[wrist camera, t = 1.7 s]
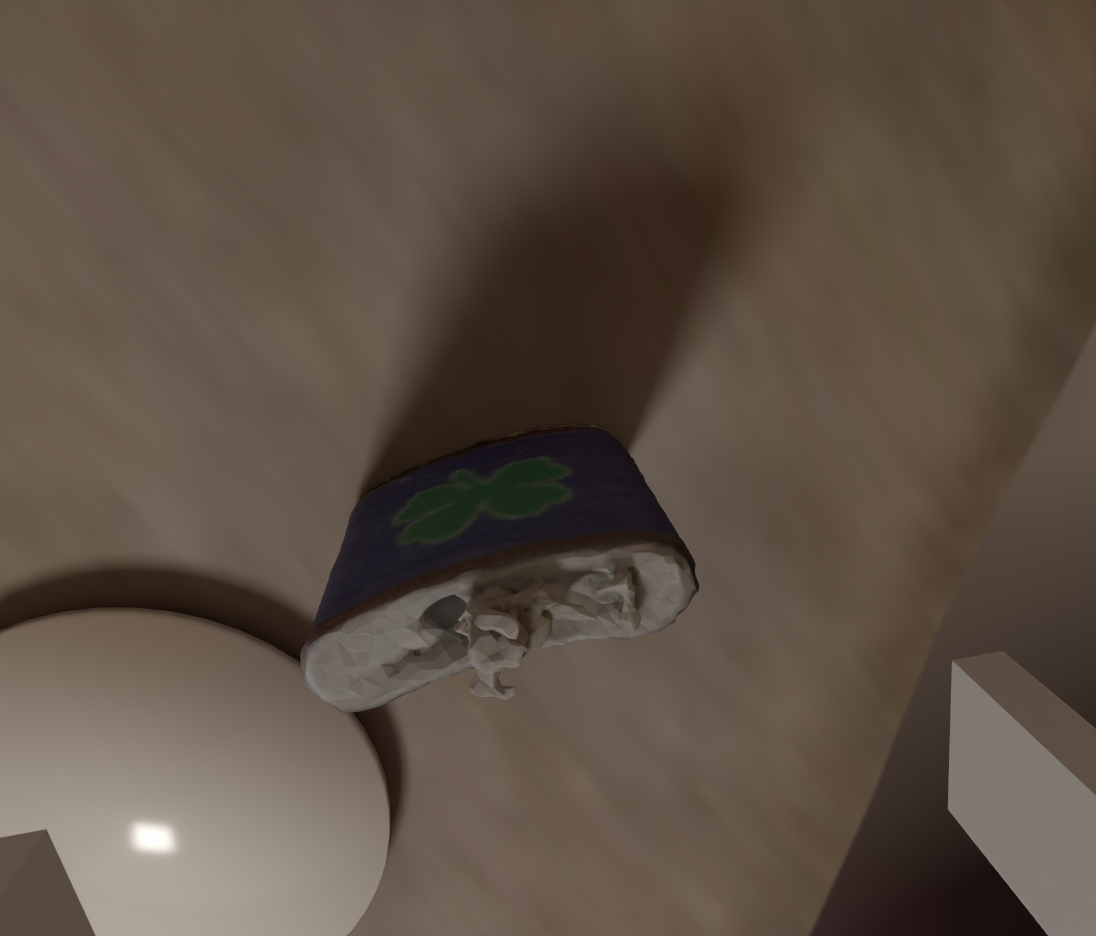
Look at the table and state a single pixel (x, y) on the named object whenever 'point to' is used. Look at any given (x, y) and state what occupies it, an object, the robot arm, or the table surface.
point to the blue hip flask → (494, 567)
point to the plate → (188, 777)
